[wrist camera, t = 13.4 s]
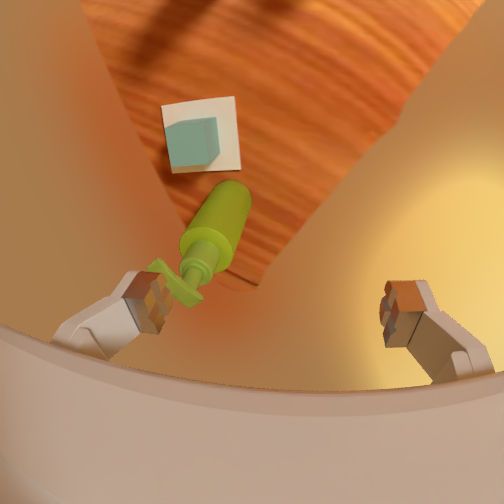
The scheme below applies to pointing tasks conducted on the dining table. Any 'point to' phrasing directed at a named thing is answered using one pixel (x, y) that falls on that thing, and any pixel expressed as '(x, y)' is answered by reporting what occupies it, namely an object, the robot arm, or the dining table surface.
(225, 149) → the coaster
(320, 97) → the dining table surface
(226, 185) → the soap dispenser
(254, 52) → the dining table surface
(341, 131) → the dining table surface
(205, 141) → the block
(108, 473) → the robot arm
